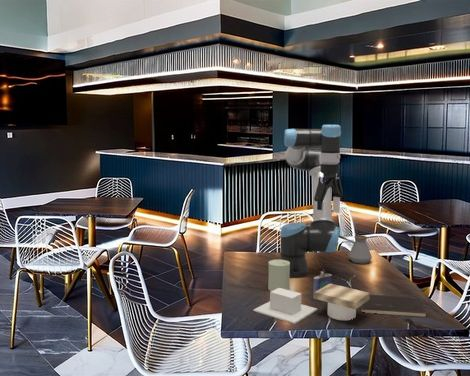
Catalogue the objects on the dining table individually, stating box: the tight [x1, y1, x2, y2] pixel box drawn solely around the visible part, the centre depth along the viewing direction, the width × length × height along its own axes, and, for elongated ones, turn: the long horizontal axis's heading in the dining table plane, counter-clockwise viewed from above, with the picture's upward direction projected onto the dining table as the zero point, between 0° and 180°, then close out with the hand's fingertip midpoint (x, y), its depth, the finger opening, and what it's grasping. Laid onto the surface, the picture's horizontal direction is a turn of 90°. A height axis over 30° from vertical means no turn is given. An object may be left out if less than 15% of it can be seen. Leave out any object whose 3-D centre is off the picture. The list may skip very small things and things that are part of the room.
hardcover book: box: [360, 294, 427, 318], centre depth 181 cm, size 16×23×2 cm
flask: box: [312, 270, 333, 301], centre depth 190 cm, size 9×3×11 cm, turn 121°
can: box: [267, 259, 291, 292], centre depth 200 cm, size 9×9×12 cm
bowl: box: [327, 302, 357, 321], centre depth 173 cm, size 10×10×6 cm
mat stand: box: [253, 288, 318, 325], centre depth 177 cm, size 18×16×7 cm
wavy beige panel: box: [314, 283, 371, 310], centre depth 173 cm, size 16×12×2 cm
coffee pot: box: [338, 234, 373, 265], centre depth 239 cm, size 21×12×15 cm, turn 88°
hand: (328, 215), depth 193 cm, fingers open, 13 cm apart
